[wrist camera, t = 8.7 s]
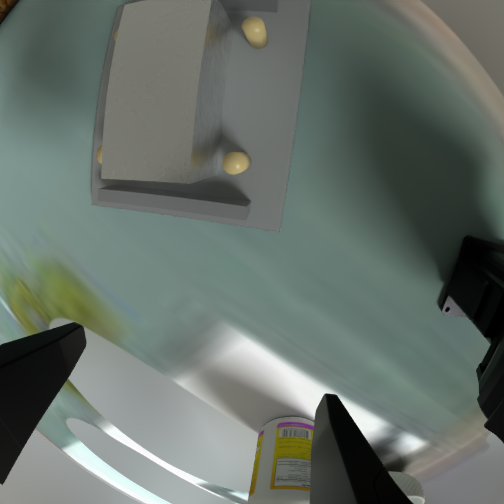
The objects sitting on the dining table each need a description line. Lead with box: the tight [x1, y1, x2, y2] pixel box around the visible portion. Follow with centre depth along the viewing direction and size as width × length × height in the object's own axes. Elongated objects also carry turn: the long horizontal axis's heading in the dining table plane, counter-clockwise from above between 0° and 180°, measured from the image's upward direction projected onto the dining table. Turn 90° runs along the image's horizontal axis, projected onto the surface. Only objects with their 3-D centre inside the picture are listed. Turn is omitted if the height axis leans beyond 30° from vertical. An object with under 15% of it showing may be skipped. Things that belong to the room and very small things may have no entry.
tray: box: [92, 0, 311, 232], centre depth 15 cm, size 14×16×4 cm
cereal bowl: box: [388, 471, 425, 504], centre depth 26 cm, size 17×17×7 cm
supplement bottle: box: [248, 417, 314, 504], centre depth 20 cm, size 7×7×13 cm
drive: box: [101, 0, 233, 184], centre depth 14 cm, size 5×10×5 cm, turn 174°
